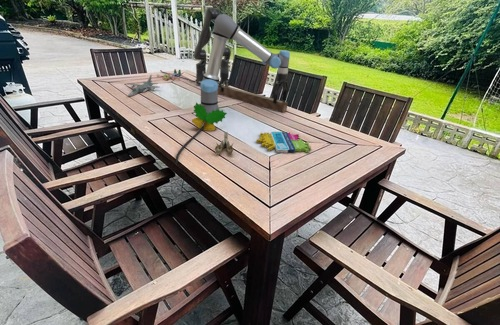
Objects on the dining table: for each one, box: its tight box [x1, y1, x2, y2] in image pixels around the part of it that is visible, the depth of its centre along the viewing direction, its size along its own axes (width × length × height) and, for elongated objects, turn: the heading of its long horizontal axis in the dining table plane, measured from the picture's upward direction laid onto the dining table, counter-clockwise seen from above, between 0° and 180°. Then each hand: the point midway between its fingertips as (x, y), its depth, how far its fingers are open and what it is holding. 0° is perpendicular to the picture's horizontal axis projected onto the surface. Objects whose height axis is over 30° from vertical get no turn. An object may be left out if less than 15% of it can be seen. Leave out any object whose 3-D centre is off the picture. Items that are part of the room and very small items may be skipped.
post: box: [218, 85, 289, 114], centre depth 220 cm, size 71×5×7 cm, turn 51°
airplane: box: [127, 74, 159, 97], centre depth 228 cm, size 38×32×10 cm
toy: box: [155, 68, 182, 81], centre depth 281 cm, size 28×7×30 cm
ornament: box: [191, 102, 228, 132], centre depth 162 cm, size 21×8×15 cm, turn 105°
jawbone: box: [214, 131, 234, 156], centre depth 136 cm, size 9×15×10 cm
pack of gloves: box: [256, 131, 312, 154], centre depth 152 cm, size 26×2×30 cm
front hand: (279, 101), depth 203 cm, fingers open, 13 cm apart
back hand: (224, 91), depth 236 cm, fingers closed on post, 5 cm apart
